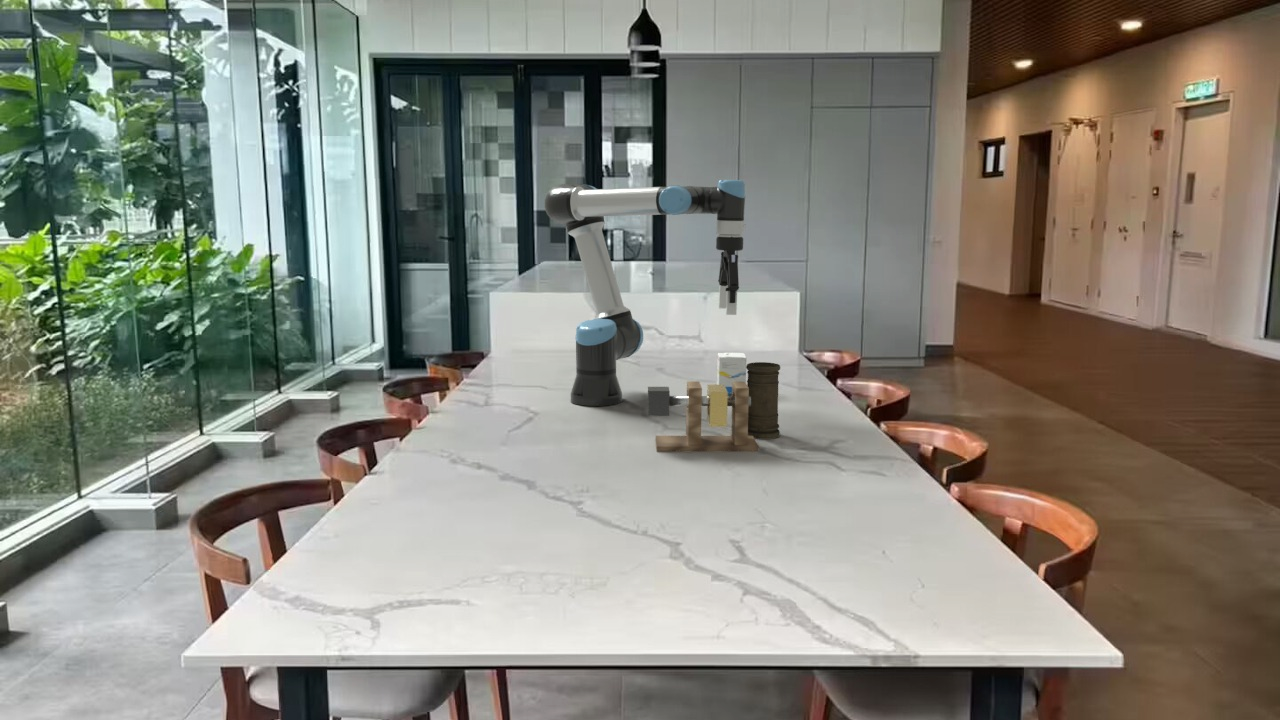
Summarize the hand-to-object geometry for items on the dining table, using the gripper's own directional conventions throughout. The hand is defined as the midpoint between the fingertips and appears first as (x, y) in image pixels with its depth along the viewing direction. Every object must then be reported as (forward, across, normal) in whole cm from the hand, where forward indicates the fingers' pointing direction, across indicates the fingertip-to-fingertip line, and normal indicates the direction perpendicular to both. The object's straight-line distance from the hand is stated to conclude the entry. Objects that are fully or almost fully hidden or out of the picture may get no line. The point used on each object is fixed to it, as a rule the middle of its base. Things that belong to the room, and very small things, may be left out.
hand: (727, 311), depth 262 cm
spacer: (+21, -45, +9) cm, 50 cm away
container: (+27, -35, -4) cm, 44 cm away
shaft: (+19, -44, +13) cm, 50 cm away
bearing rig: (+27, -44, +12) cm, 53 cm away
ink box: (+27, +17, -5) cm, 33 cm away
